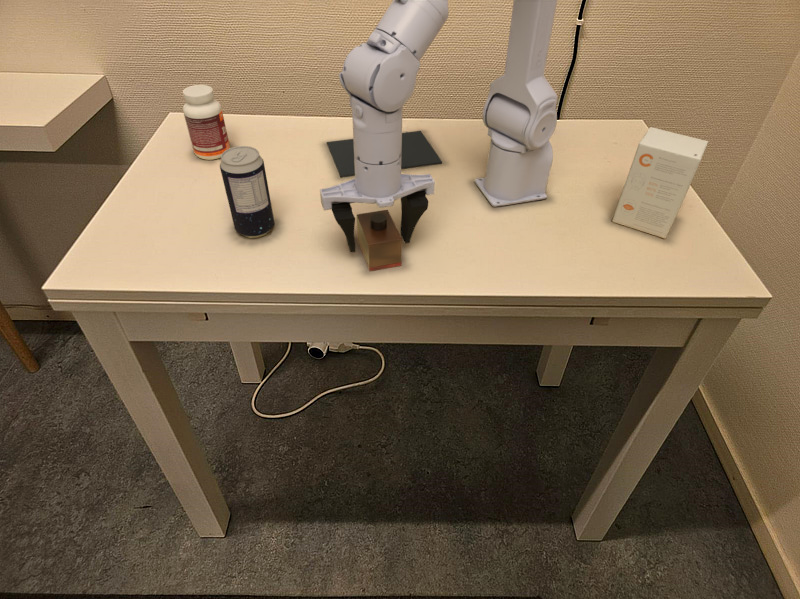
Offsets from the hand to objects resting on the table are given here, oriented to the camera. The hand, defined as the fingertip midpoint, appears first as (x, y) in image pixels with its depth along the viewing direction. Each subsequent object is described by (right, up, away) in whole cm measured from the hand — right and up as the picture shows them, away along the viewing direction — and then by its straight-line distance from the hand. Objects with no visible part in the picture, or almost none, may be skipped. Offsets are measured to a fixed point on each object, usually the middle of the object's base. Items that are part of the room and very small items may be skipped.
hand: (378, 243), depth 73 cm
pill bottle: (-30, +18, +21) cm, 41 cm away
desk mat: (0, +18, +21) cm, 28 cm away
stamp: (0, -1, +1) cm, 2 cm away
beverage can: (-18, +2, +5) cm, 19 cm away
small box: (+40, +4, +8) cm, 41 cm away
